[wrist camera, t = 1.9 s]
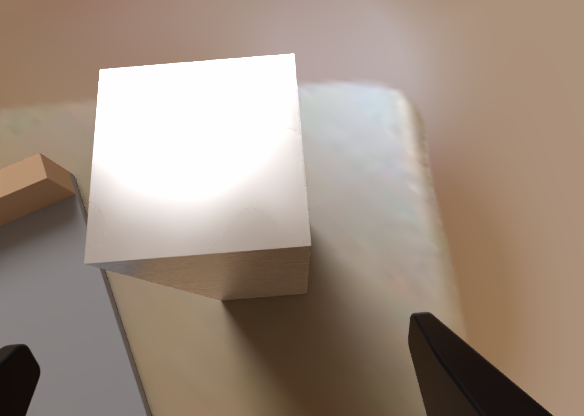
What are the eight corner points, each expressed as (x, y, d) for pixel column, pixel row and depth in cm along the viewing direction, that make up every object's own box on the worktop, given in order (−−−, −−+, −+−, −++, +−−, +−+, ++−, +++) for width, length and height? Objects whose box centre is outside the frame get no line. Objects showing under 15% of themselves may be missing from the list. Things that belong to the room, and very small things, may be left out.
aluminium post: (306, 293, 20) (311, 245, 8) (221, 300, 20) (83, 263, 8) (299, 211, 21) (294, 53, 9) (219, 217, 21) (100, 70, 9)
